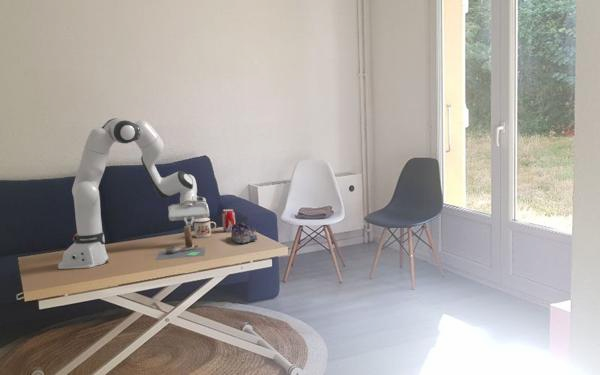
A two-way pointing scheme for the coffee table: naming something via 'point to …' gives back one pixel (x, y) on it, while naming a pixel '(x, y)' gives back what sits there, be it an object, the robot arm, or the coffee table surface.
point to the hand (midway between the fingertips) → (189, 225)
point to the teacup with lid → (203, 227)
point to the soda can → (228, 219)
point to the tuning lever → (187, 241)
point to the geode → (243, 233)
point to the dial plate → (182, 253)
